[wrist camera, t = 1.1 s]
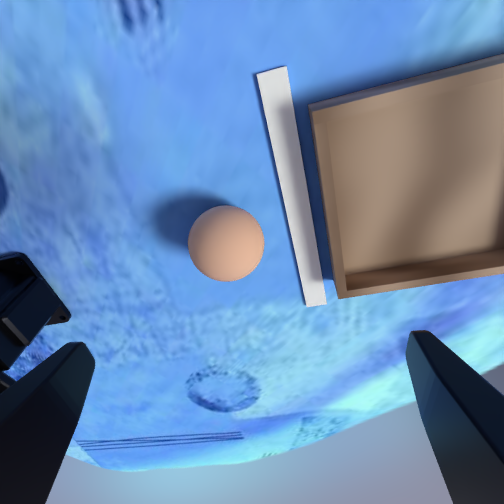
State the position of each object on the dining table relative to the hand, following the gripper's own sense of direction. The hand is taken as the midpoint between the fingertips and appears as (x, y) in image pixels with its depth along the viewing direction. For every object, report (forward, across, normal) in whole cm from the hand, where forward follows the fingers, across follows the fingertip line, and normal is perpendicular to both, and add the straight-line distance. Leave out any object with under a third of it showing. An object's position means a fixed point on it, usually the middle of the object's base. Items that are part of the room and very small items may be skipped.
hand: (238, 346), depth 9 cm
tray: (+13, -10, +2) cm, 16 cm away
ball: (+12, +2, +3) cm, 13 cm away
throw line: (+12, -2, +2) cm, 13 cm away
